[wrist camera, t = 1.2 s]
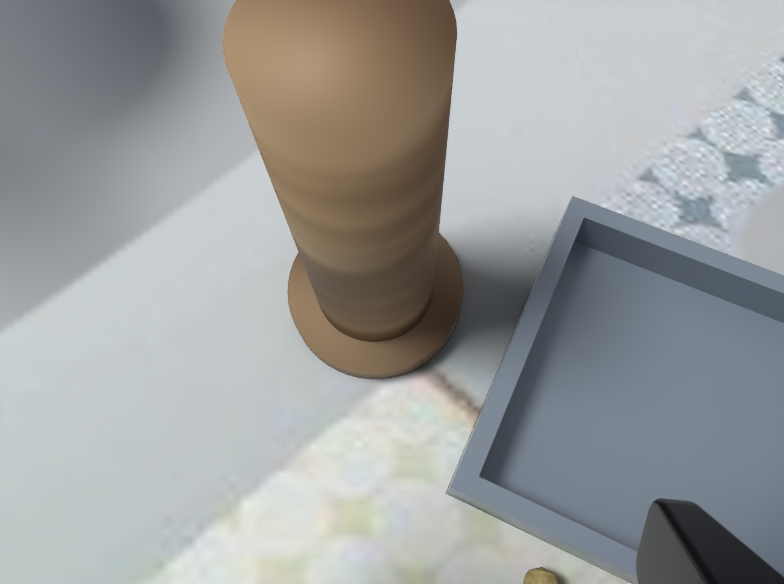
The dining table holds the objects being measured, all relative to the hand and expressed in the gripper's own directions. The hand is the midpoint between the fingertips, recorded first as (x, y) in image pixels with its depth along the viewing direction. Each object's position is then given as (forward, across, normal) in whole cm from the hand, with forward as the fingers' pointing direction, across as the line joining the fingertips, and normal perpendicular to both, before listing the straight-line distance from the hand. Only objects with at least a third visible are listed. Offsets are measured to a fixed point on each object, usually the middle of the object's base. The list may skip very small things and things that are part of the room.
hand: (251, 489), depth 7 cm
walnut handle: (+15, 0, +4) cm, 15 cm away
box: (+12, -9, +6) cm, 17 cm away
